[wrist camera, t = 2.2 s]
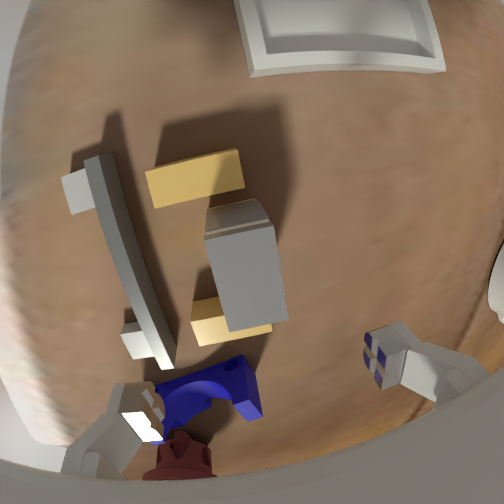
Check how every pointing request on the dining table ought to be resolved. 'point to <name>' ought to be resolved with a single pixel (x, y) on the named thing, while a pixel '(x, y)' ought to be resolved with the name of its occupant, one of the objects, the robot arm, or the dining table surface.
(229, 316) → the grey rectangular box
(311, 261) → the dining table surface
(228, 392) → the cable clip
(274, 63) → the parts tray
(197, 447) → the mechanical component
